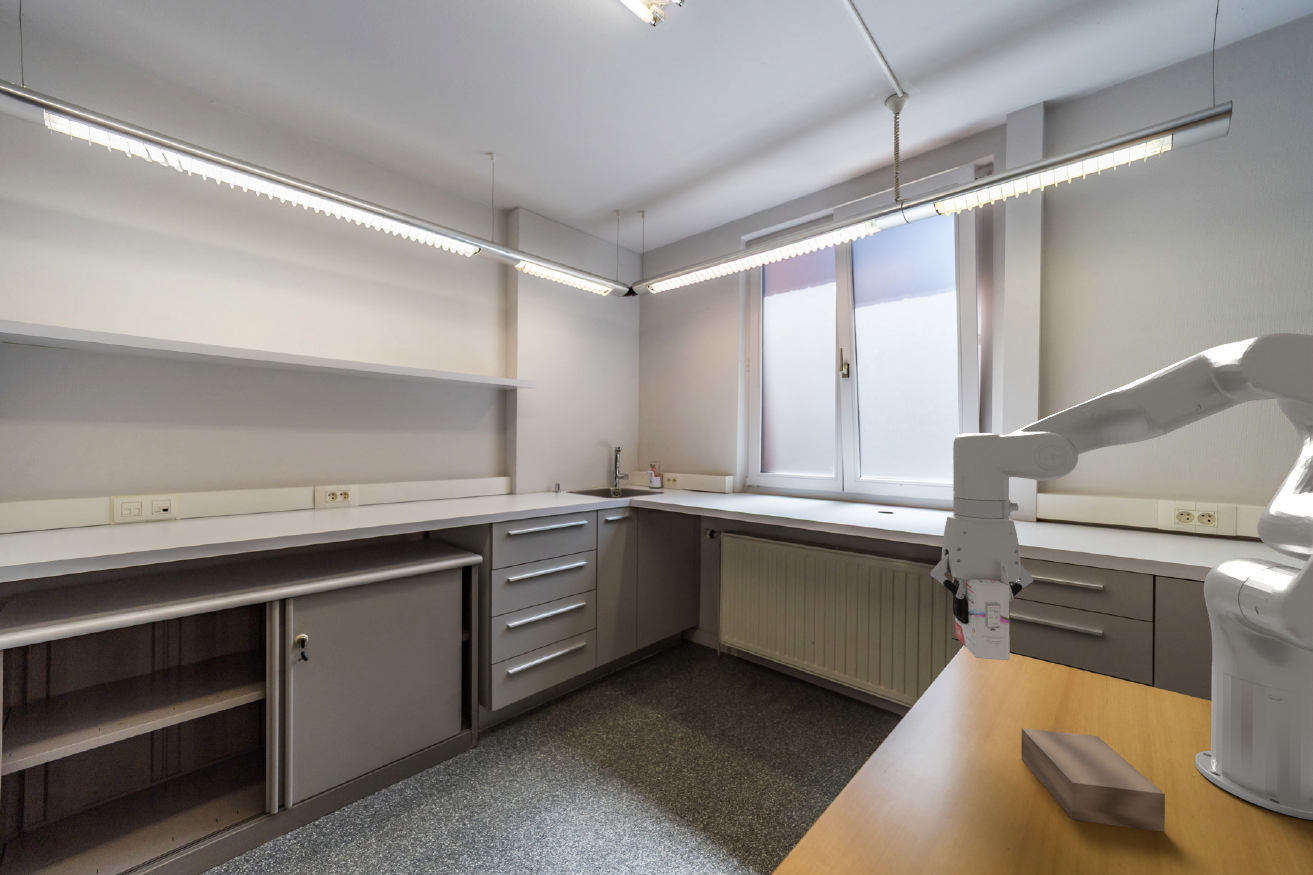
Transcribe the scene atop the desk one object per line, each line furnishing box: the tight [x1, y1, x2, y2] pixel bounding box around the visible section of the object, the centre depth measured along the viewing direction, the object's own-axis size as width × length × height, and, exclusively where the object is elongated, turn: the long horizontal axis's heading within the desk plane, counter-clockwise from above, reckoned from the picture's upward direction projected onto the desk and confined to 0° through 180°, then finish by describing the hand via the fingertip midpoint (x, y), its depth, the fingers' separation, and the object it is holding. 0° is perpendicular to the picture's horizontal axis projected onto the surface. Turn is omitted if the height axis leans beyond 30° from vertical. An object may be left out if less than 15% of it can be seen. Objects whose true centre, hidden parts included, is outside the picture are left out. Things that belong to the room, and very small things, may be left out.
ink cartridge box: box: [954, 562, 1011, 661], centre depth 79 cm, size 9×5×15 cm, turn 169°
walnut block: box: [1020, 727, 1166, 833], centre depth 68 cm, size 10×12×5 cm
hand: (980, 620), depth 79 cm, fingers closed on ink cartridge box, 5 cm apart
